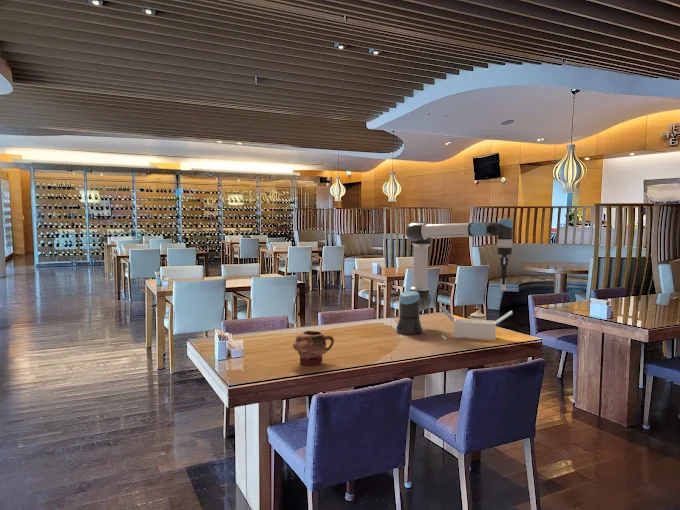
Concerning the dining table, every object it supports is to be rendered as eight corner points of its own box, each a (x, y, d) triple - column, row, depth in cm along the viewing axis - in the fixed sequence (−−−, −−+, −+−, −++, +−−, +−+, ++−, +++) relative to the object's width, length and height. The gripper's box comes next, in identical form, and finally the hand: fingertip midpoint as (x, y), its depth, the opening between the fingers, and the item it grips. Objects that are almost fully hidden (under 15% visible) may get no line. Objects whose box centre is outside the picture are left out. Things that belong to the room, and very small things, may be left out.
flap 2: (495, 320, 268) (496, 321, 268) (496, 323, 260) (496, 324, 259) (511, 310, 265) (512, 310, 265) (512, 313, 257) (512, 313, 257)
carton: (453, 337, 267) (454, 321, 266) (455, 334, 275) (455, 318, 275) (495, 340, 260) (495, 324, 260) (495, 336, 269) (495, 320, 268)
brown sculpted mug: (326, 356, 230) (326, 327, 230) (339, 362, 220) (339, 332, 219) (288, 362, 220) (288, 332, 219) (300, 369, 210) (300, 337, 209)
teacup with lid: (488, 330, 285) (489, 310, 284) (479, 332, 280) (479, 312, 279) (472, 326, 295) (472, 308, 294) (462, 328, 289) (462, 309, 289)
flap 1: (453, 321, 266) (453, 321, 266) (454, 318, 275) (454, 318, 275) (440, 307, 268) (440, 308, 268) (442, 305, 276) (441, 305, 276)
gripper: (512, 247, 254) (510, 292, 256) (511, 246, 266) (510, 288, 268) (497, 247, 256) (496, 291, 258) (497, 246, 269) (495, 288, 270)
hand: (503, 290), depth 263 cm, fingers closed
